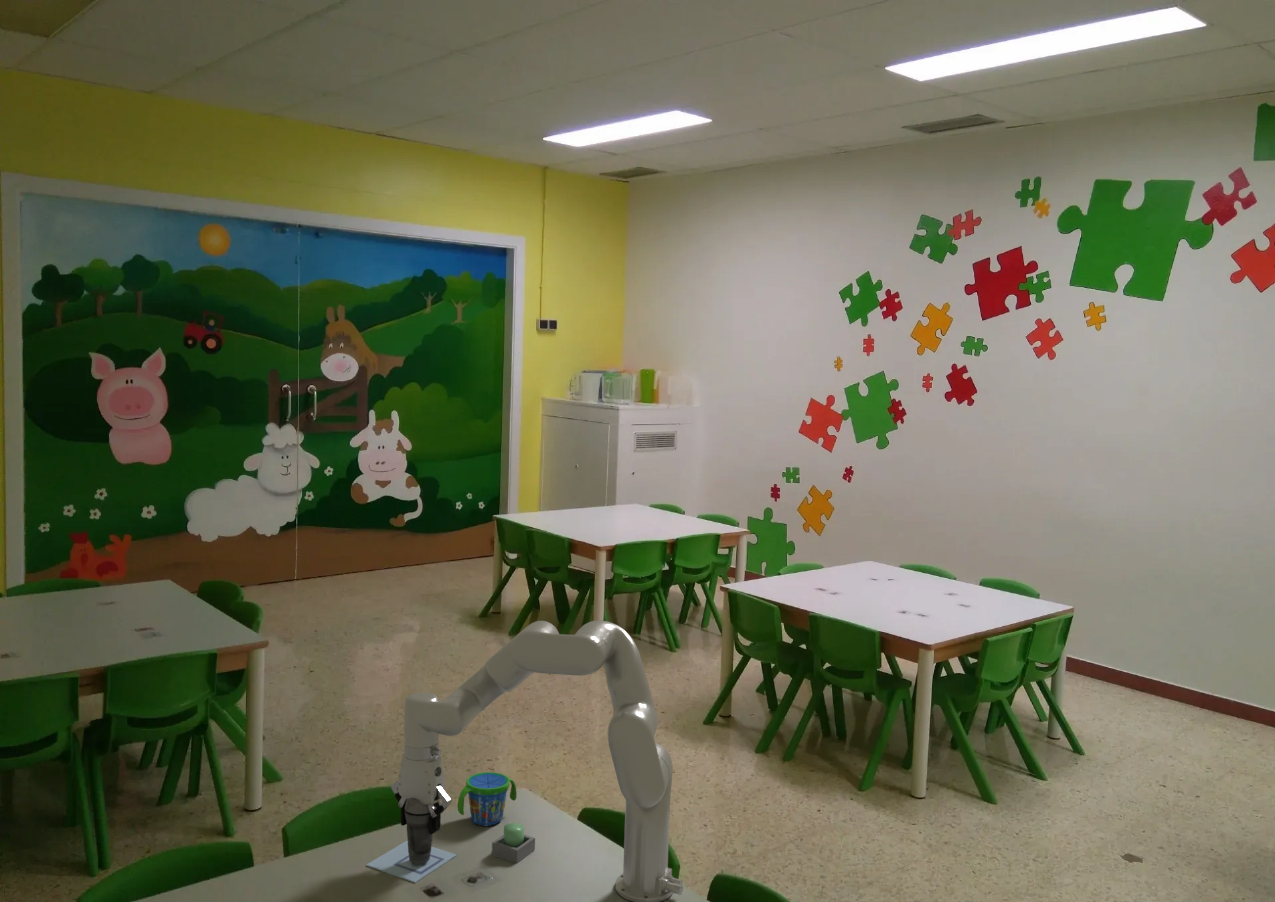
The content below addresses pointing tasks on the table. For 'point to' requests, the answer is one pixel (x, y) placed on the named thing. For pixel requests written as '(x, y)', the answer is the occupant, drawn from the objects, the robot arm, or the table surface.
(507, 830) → the button
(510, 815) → the table surface
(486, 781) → the snack cup
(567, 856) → the table surface
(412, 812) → the beverage cup
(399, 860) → the paper
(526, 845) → the button housing
